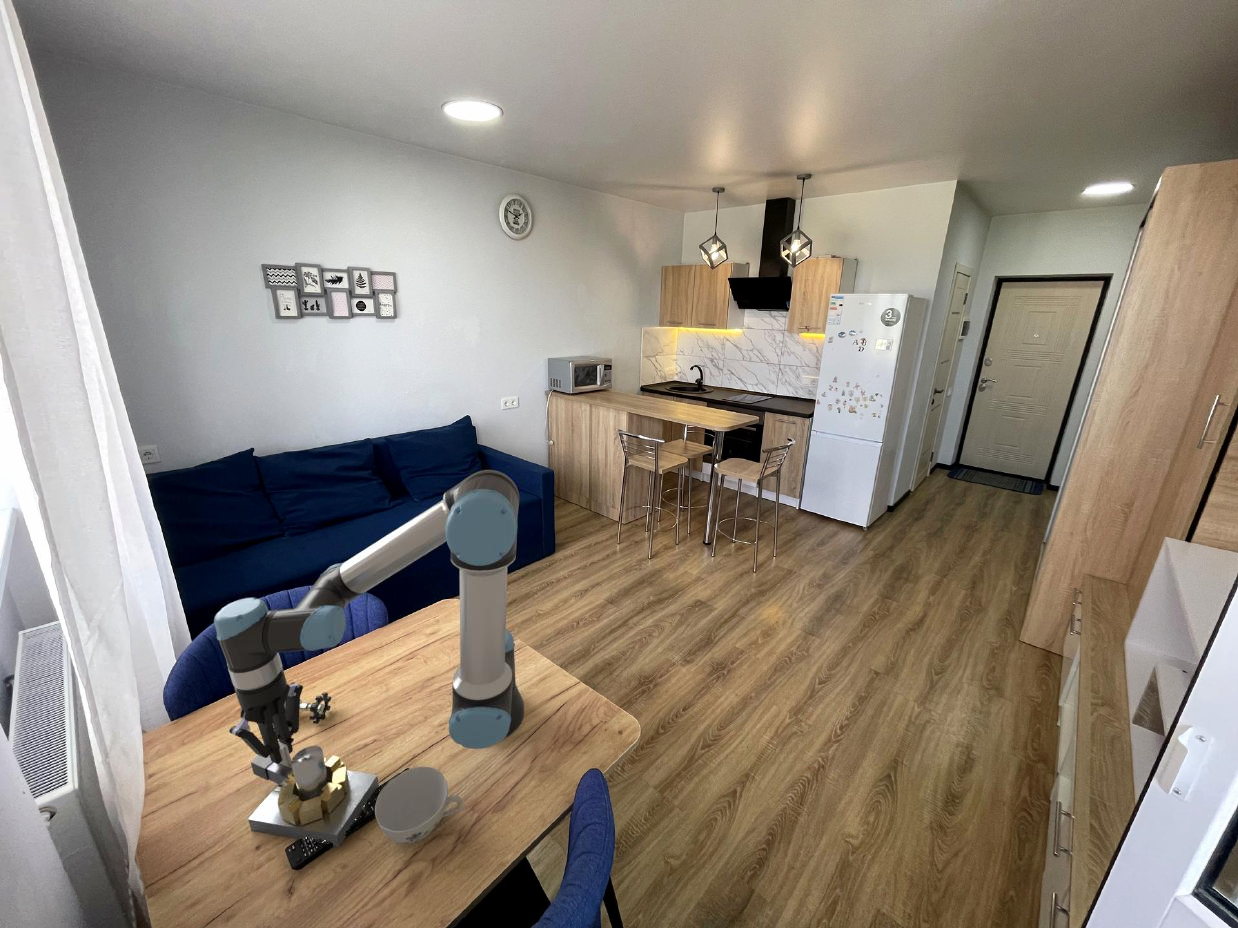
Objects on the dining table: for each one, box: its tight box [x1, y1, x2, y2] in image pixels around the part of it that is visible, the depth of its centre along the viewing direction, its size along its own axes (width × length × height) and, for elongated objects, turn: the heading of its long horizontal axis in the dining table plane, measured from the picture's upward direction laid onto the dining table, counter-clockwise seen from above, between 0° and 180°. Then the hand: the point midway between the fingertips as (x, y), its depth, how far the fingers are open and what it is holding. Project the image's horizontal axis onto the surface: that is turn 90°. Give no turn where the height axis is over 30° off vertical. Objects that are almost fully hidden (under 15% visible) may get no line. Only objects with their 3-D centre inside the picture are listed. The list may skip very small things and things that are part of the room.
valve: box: [284, 691, 332, 725], centre depth 115 cm, size 7×7×12 cm
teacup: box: [374, 765, 463, 845], centre depth 91 cm, size 15×12×8 cm
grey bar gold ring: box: [250, 754, 348, 825], centre depth 95 cm, size 11×21×4 cm, turn 70°
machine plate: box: [247, 745, 380, 848], centre depth 93 cm, size 18×12×13 cm, turn 82°
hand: (286, 768), depth 98 cm, fingers closed
